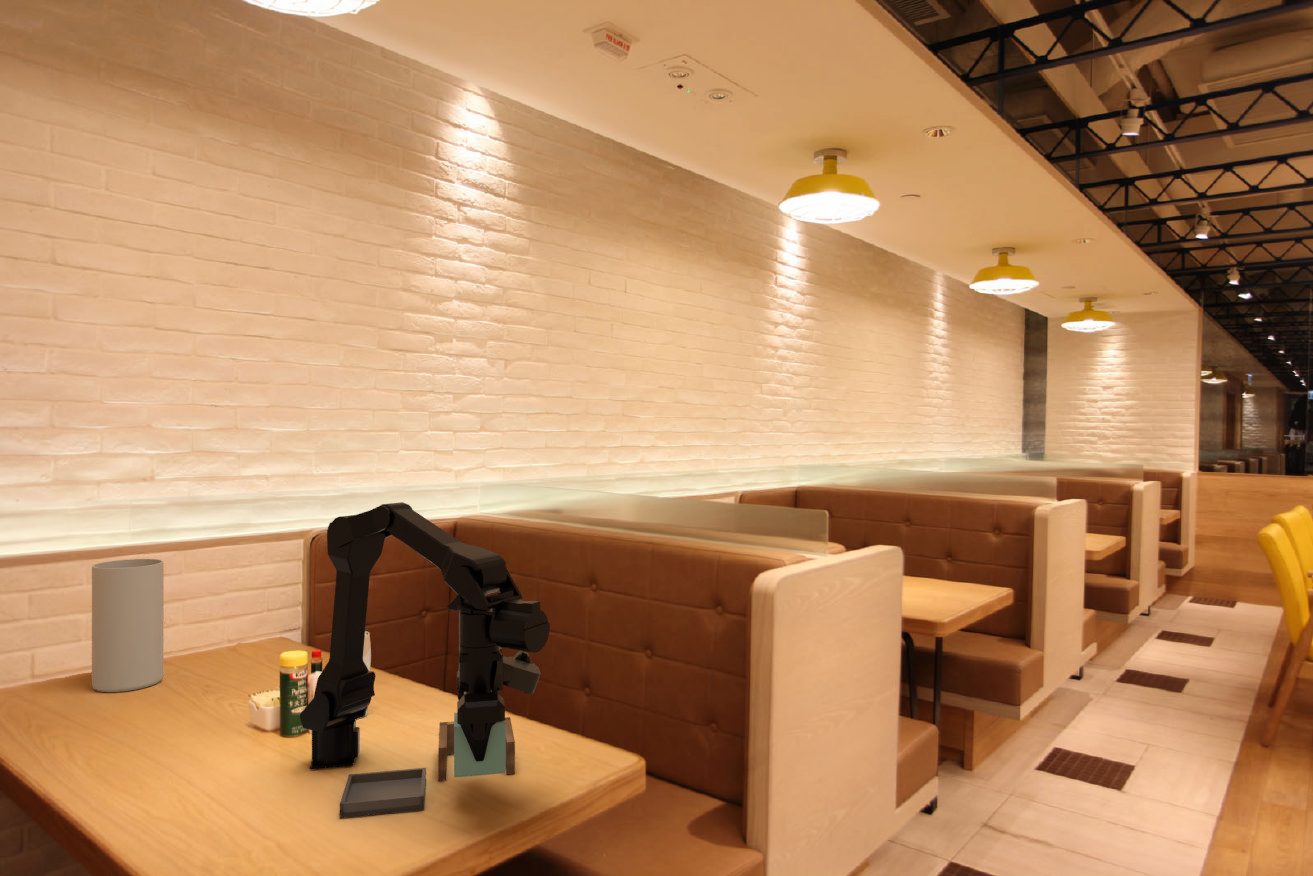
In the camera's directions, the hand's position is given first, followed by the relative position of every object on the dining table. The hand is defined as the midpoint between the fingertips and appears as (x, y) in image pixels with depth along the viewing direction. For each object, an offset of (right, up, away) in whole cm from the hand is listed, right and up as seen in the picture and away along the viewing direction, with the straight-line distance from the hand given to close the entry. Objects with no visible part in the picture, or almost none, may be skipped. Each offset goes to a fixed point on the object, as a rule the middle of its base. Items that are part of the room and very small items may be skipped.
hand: (479, 752), depth 118 cm
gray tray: (-14, -7, +1) cm, 15 cm away
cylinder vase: (-84, -6, +54) cm, 100 cm away
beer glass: (-31, -7, +36) cm, 48 cm away
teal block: (0, -2, 0) cm, 2 cm away
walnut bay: (-3, -7, +14) cm, 16 cm away
